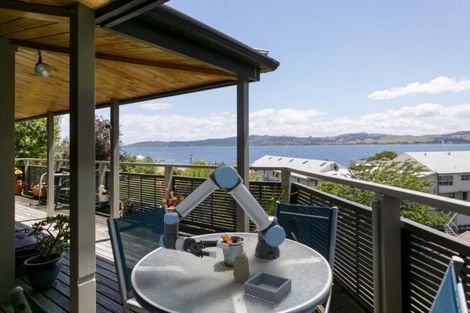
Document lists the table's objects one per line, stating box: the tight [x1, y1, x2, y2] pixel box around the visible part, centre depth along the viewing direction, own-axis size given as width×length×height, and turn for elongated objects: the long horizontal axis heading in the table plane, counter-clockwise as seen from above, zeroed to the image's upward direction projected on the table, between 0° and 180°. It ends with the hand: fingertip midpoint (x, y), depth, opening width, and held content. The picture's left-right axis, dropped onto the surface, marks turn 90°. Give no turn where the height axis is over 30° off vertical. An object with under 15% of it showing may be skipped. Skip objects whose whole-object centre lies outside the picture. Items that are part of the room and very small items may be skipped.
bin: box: [243, 271, 292, 304], centre depth 141 cm, size 16×16×5 cm
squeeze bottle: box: [232, 244, 251, 284], centre depth 151 cm, size 8×8×18 cm
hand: (222, 250), depth 155 cm, fingers open, 13 cm apart
